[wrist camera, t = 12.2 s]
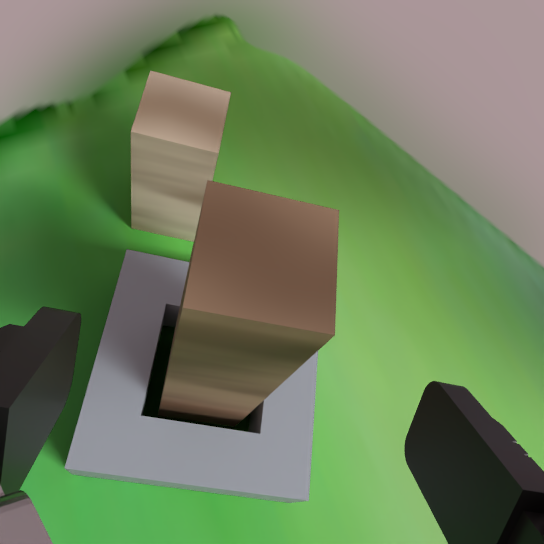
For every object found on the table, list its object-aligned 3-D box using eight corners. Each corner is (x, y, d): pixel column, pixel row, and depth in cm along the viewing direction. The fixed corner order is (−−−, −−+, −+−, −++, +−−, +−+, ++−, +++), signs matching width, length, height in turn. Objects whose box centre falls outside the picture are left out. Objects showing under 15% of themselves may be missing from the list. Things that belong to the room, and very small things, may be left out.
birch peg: (146, 175, 30) (150, 70, 23) (208, 190, 30) (230, 92, 23) (131, 228, 28) (130, 131, 21) (197, 242, 28) (218, 153, 21)
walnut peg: (172, 341, 25) (207, 180, 13) (243, 353, 26) (338, 210, 14) (157, 416, 24) (182, 307, 12) (234, 426, 24) (334, 335, 12)
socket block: (127, 275, 26) (126, 249, 24) (304, 311, 28) (321, 290, 26) (72, 474, 22) (64, 468, 19) (289, 502, 23) (308, 500, 21)
